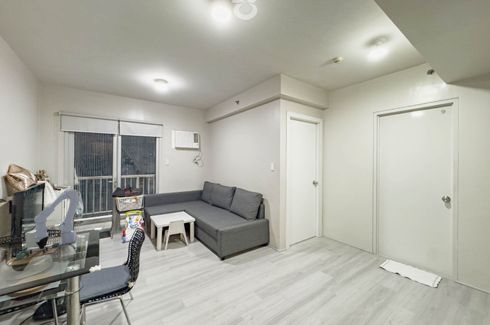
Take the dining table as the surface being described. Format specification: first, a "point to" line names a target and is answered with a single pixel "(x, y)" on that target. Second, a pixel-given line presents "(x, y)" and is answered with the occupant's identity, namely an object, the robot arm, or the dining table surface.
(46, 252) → the board
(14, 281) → the dining table surface
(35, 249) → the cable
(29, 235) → the supplement box
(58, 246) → the mat
